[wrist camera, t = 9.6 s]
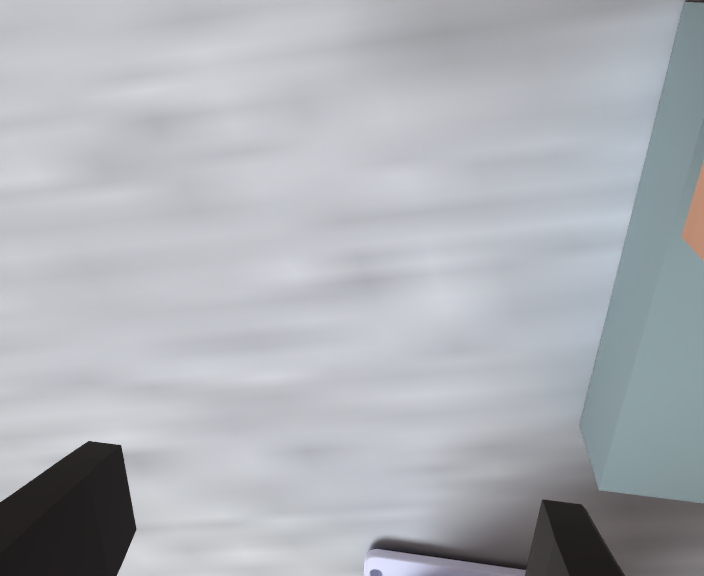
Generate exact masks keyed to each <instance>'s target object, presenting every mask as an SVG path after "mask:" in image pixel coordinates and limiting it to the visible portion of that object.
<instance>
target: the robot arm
mask: <svg viewBox="0 0 704 576" xmlns="http://www.w3.org/2000/svg"><path fill="white" fill-rule="evenodd" d="M135 531H136V525H135V519H134V514H133V508H132V502H131V497H130V491H129V486H128V480H127V475H126V469H125V464H124V458H123V453H122V447H121V445H115V444H107V443H99V442H92V441H88V442H87V443H85V444H84V445H82V446H81V447H79V448H78V449H76V450H75V451H73V452H72V453H70V454H69V455H67V456H66V457H64V458H63V459H62V460H60V461H59V462H57V463H56V464H54V465H53V466H52V467H50V468H49V469H47V470H46V471H44V472H43V473H42V474H40V475H39V476H37V477H36V478H35V479H33V480H32V481H30V482H29V483H27V484H26V485H25V486H23V487H22V488H20V489H19V490H18V491H16V492H15V493H13V494H12V495H10V496H9V497H7V498H6V499H4V500H3V501H2V502H0V576H117V574H118V571H119V569H120V567H121V565H122V563H123V560H124V558H125V555H126V553H127V551H128V548H129V546H130V543H131V541H132V539H133V536H134V534H135ZM375 569H377V570H375ZM364 576H625V575H624V573H623V572H622V570H621V568H620V567H619V565H618V564H617V562H616V560H615V559H614V557H613V555H612V554H611V552H610V550H609V549H608V547H607V545H606V544H605V542H604V540H603V538H602V537H601V535H600V533H599V531H598V530H597V528H596V526H595V525H594V523H593V521H592V519H591V518H590V516H589V514H588V512H587V511H586V509H585V508H584V507H583V506H582V505H581V504H573V503H565V502H558V501H550V500H542V503H541V507H540V512H539V516H538V520H537V525H536V529H535V533H534V538H533V542H532V547H531V551H530V555H529V560H528V564H527V568H526V570H521V569H514V568H507V567H500V566H493V565H486V564H479V563H472V562H465V561H458V560H451V559H444V558H437V557H430V556H423V555H416V554H409V553H402V552H395V551H388V550H381V549H373V550H370V551H368V552H367V553H366V556H365V562H364Z"/></svg>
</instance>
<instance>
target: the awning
mask: <svg viewBox="0 0 704 576" xmlns="http://www.w3.org/2000/svg"><path fill="white" fill-rule="evenodd" d="M681 237H682V238H683V239H684V240H685V242H686V243H687V244H688V245H689V246H690V247H691V248H692V249H693V250H694V251H695V252H696V253H697V255H698V256H699V257H700V258H701V259H702V260H703V261H704V160H703V164H702V167H701V171H700V174H699V178H698V181H697V185H696V188H695V191H694V195H693V198H692V202H691V205H690V209H689V212H688V215H687V219H686V222H685V226H684V229H683V233H682V236H681Z"/></svg>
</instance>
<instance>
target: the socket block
mask: <svg viewBox="0 0 704 576" xmlns="http://www.w3.org/2000/svg"><path fill="white" fill-rule="evenodd" d="M703 160H704V3H702V2H684V5H683V9H682V13H681V17H680V22H679V26H678V30H677V34H676V38H675V42H674V46H673V50H672V54H671V58H670V62H669V66H668V70H667V74H666V78H665V82H664V86H663V90H662V94H661V98H660V102H659V106H658V110H657V114H656V119H655V123H654V127H653V131H652V135H651V139H650V143H649V147H648V151H647V155H646V159H645V163H644V167H643V171H642V175H641V179H640V183H639V187H638V191H637V195H636V199H635V203H634V207H633V211H632V216H631V220H630V224H629V228H628V232H627V236H626V240H625V244H624V248H623V252H622V256H621V260H620V264H619V268H618V272H617V276H616V280H615V284H614V288H613V292H612V296H611V300H610V304H609V308H608V313H607V317H606V321H605V325H604V329H603V333H602V337H601V341H600V345H599V349H598V353H597V357H596V361H595V365H594V369H593V373H592V377H591V381H590V385H589V389H588V393H587V397H586V401H585V405H584V410H583V414H582V418H581V422H580V429H581V432H582V435H583V439H584V442H585V446H586V449H587V453H588V456H589V459H590V463H591V466H592V470H593V473H594V477H595V480H596V484H597V487H598V490H600V491H608V492H616V493H624V494H632V495H640V496H648V497H656V498H664V499H672V500H680V501H688V502H696V503H704V261H703V260H702V259H701V258H700V257H699V256H698V255H697V253H696V252H695V251H694V250H693V249H692V248H691V247H690V246H689V245H688V244H687V243H686V242H685V240H684V239H683V238H682V237H681V236H682V233H683V229H684V226H685V222H686V219H687V215H688V212H689V209H690V205H691V202H692V198H693V195H694V191H695V188H696V185H697V181H698V178H699V174H700V171H701V167H702V164H703Z"/></svg>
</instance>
